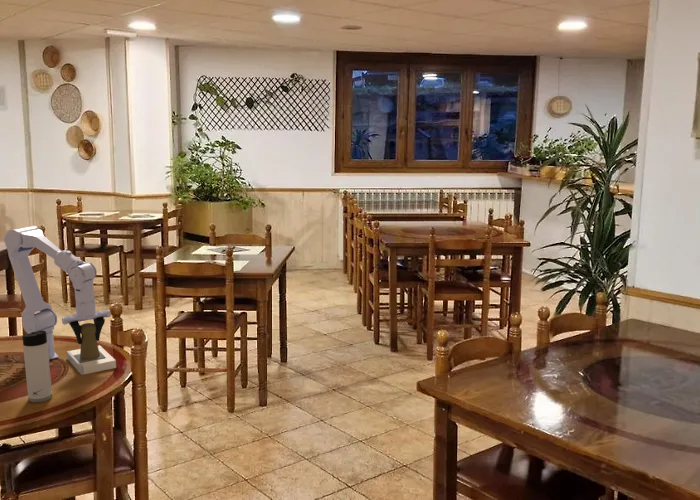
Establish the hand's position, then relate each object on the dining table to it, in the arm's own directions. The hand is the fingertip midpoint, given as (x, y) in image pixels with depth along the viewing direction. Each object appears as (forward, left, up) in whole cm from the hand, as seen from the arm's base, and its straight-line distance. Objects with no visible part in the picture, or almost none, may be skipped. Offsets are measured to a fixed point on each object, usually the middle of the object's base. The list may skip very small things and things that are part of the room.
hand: (88, 341), depth 222 cm
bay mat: (0, 0, -5) cm, 5 cm away
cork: (0, 0, -5) cm, 5 cm away
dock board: (-1, +1, -8) cm, 8 cm away
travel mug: (+20, -19, -8) cm, 29 cm away
